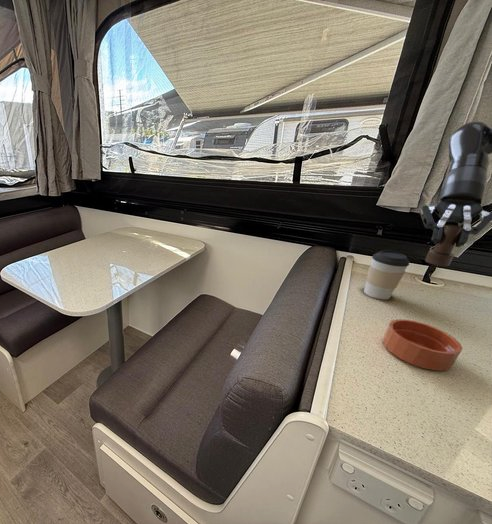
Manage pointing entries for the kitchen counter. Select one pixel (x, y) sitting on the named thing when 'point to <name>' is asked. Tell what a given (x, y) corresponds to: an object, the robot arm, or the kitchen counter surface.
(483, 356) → the kitchen counter surface
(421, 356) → the bowl
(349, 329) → the kitchen counter surface
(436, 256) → the pepper mill
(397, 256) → the coffee cup
